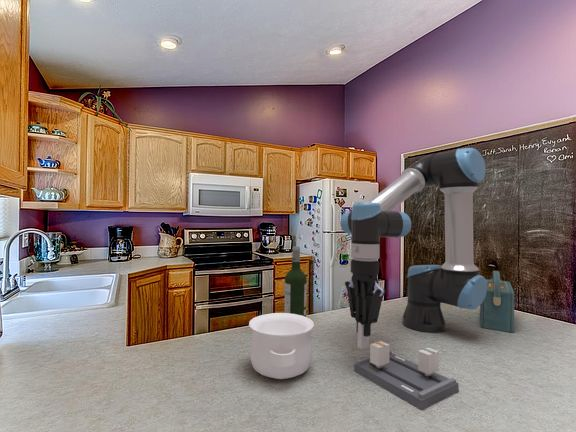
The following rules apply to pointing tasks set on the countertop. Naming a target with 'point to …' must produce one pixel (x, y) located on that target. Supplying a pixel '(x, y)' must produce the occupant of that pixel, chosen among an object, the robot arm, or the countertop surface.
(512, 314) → the teal lunch box
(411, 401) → the console
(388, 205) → the robot arm
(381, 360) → the fader low
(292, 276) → the wine bottle
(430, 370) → the fader high
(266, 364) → the pot
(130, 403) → the countertop surface
